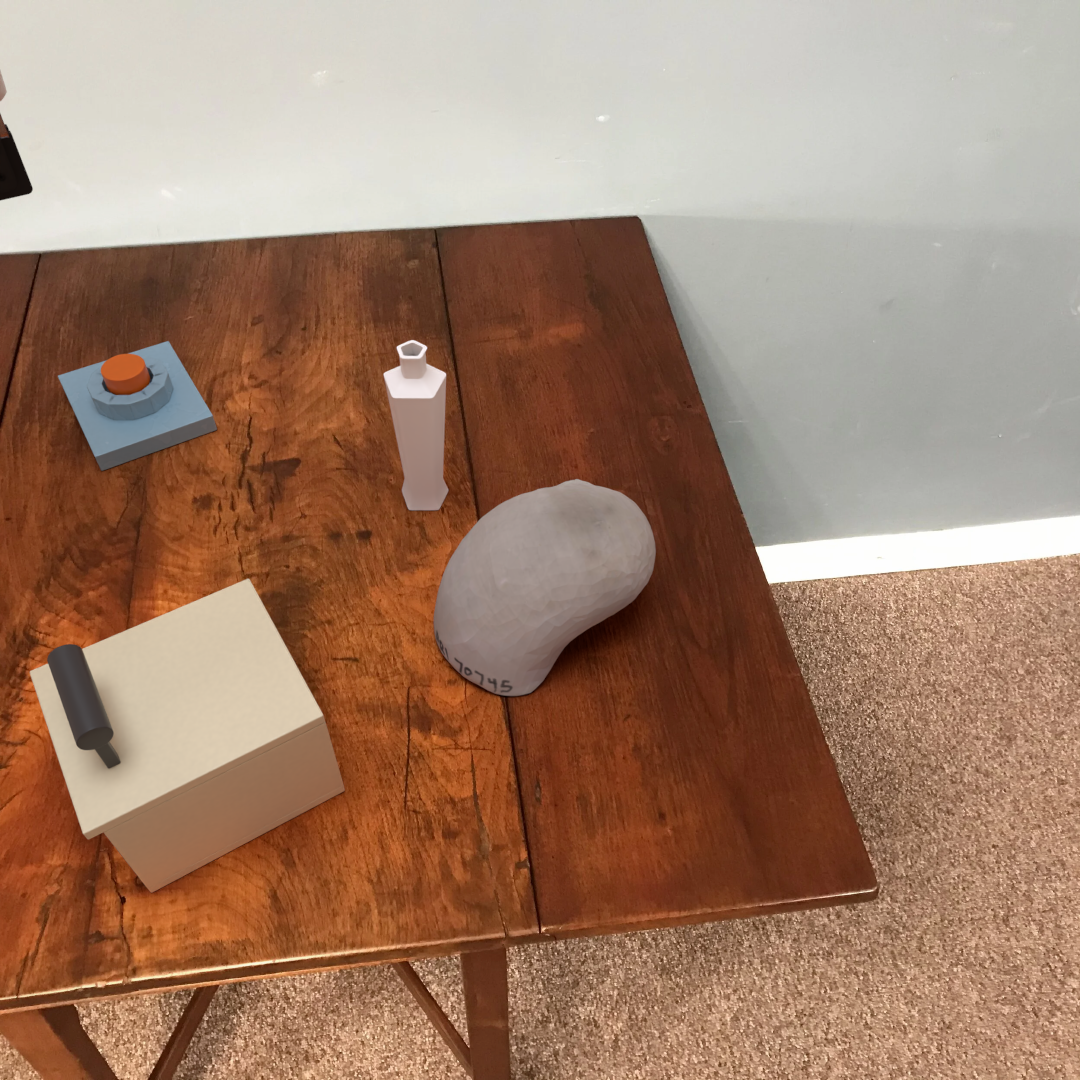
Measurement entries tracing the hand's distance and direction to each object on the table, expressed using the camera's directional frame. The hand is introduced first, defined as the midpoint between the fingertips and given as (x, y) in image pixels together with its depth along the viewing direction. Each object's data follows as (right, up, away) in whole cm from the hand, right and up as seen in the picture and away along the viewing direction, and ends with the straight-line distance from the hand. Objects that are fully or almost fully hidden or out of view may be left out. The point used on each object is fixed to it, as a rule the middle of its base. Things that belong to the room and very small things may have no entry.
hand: (6, 192), depth 63 cm
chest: (+15, -38, -1) cm, 41 cm away
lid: (+15, -32, -8) cm, 37 cm away
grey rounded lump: (+36, -28, +8) cm, 46 cm away
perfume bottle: (+26, -19, +15) cm, 36 cm away
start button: (0, -10, +18) cm, 21 cm away
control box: (0, -12, +21) cm, 24 cm away
